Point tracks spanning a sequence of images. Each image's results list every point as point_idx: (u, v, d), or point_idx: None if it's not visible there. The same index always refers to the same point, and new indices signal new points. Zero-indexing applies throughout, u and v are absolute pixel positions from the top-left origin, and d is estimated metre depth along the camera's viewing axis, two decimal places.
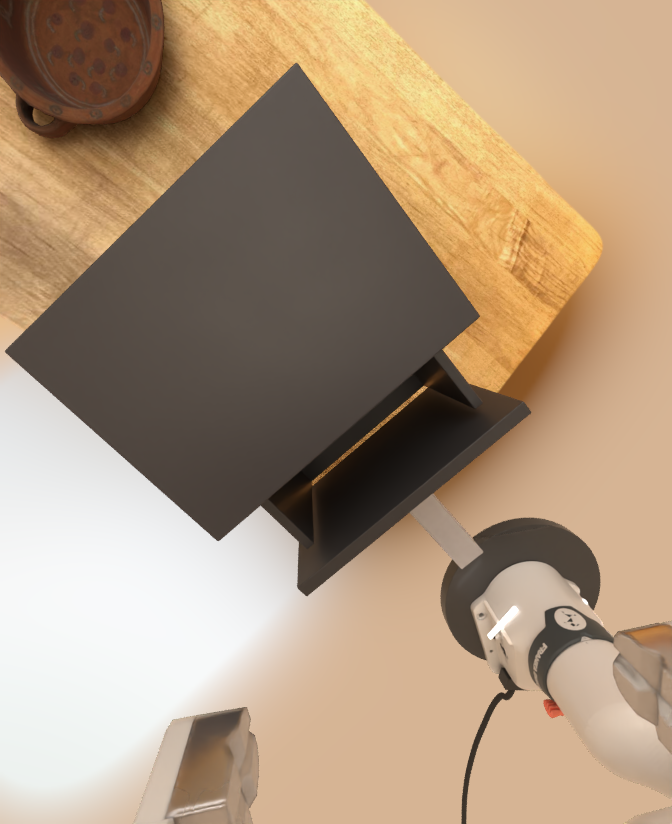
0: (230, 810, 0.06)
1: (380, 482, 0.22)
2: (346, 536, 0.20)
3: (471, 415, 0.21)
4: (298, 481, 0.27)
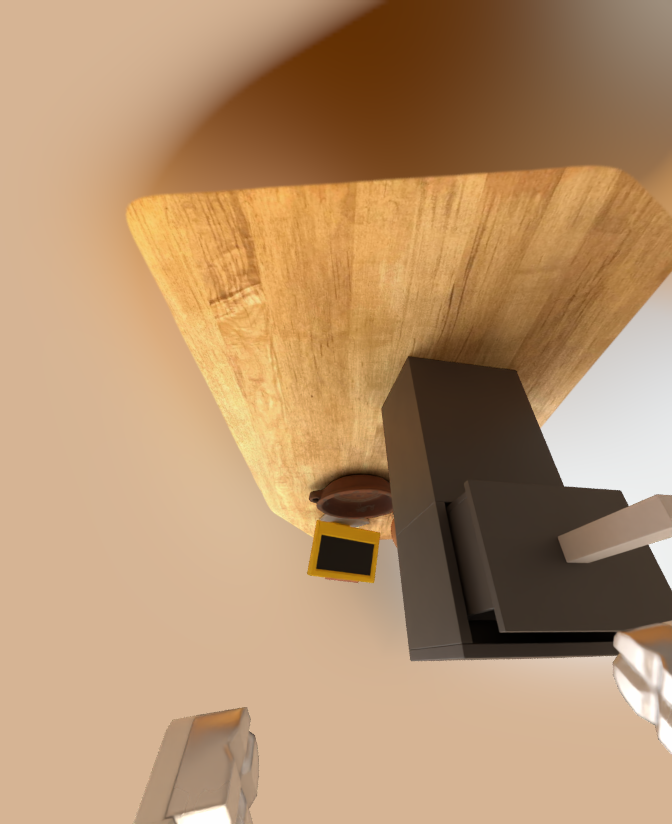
0: (230, 810, 0.06)
1: None
2: None
3: None
4: None
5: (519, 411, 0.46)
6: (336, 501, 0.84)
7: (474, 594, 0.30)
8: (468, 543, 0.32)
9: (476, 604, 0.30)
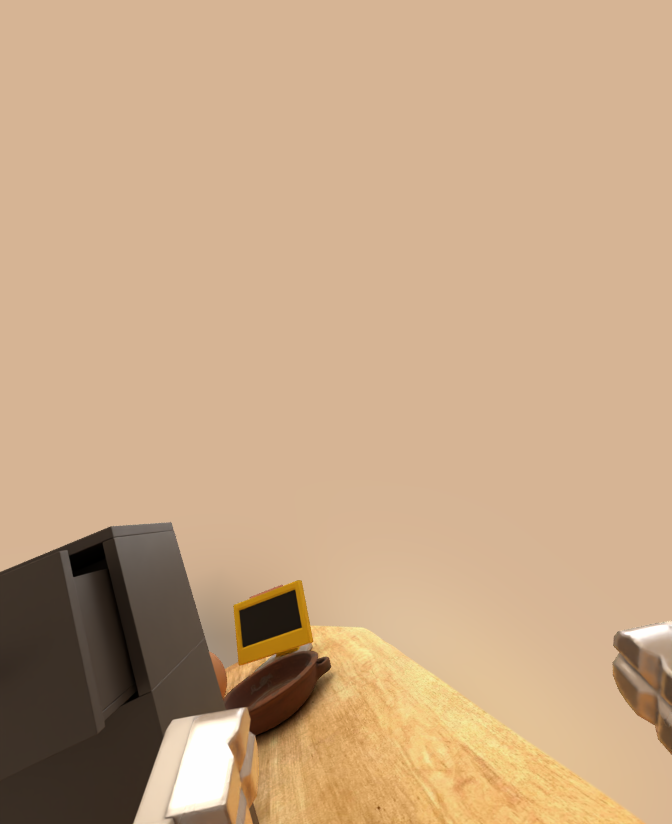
0: (230, 810, 0.06)
1: None
2: None
3: None
4: None
5: None
6: (297, 673, 0.68)
7: (98, 588, 0.28)
8: (103, 645, 0.26)
9: (96, 578, 0.28)
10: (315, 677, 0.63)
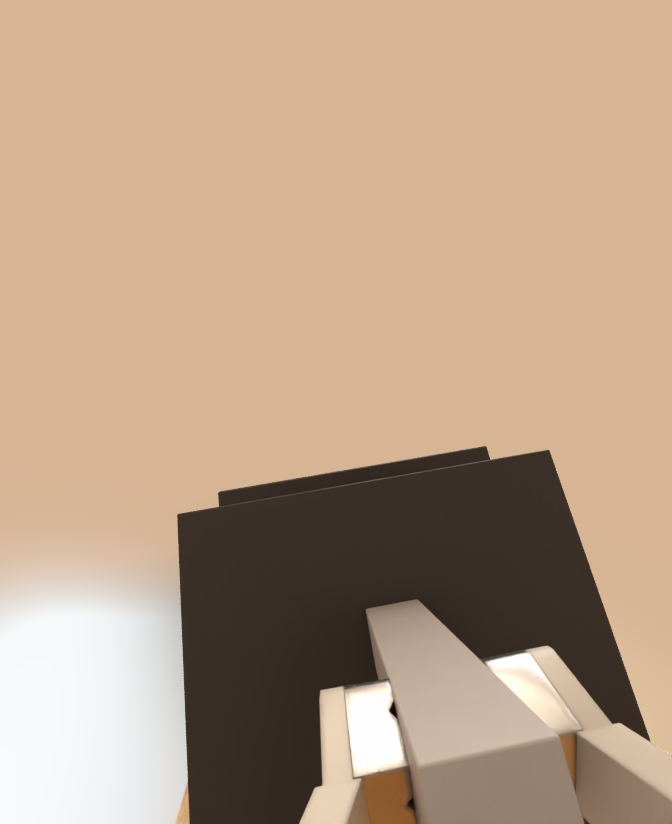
0: None
1: None
2: None
3: None
4: None
5: None
6: None
7: None
8: None
9: None
10: None
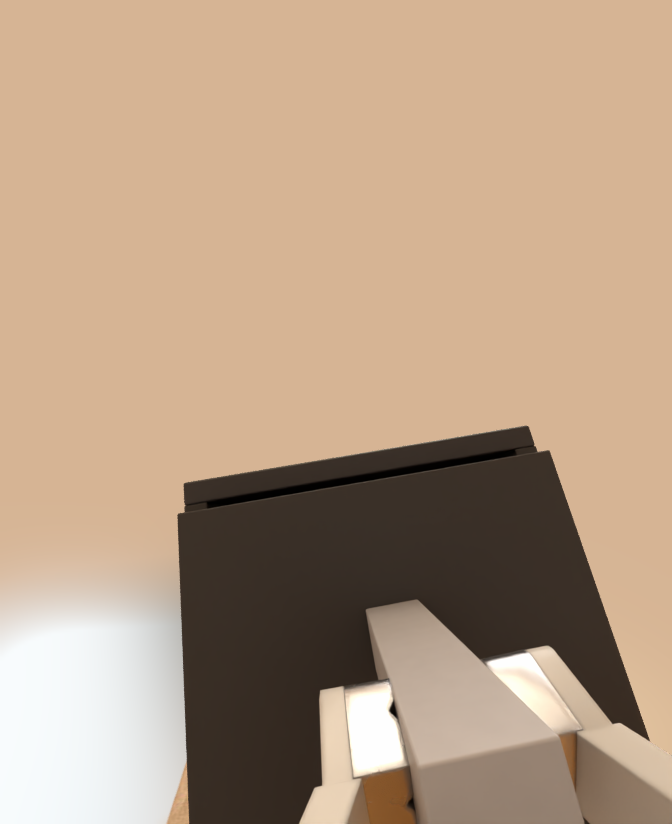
0: (410, 772, 0.06)
1: None
2: None
3: None
4: None
5: None
6: None
7: None
8: None
9: None
10: None
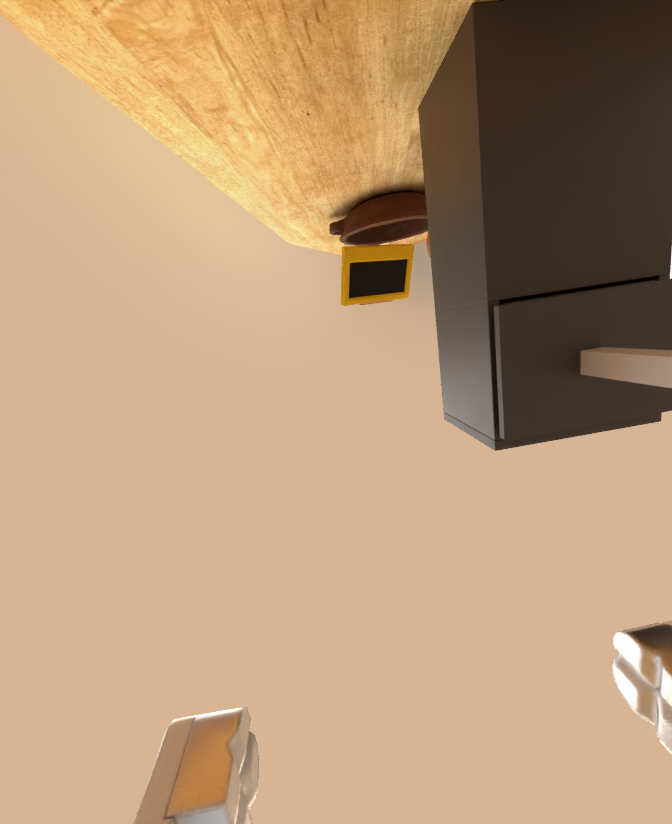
0: (230, 810, 0.06)
1: None
2: None
3: None
4: None
5: (654, 102, 0.27)
6: None
7: None
8: None
9: None
10: (346, 221, 0.65)
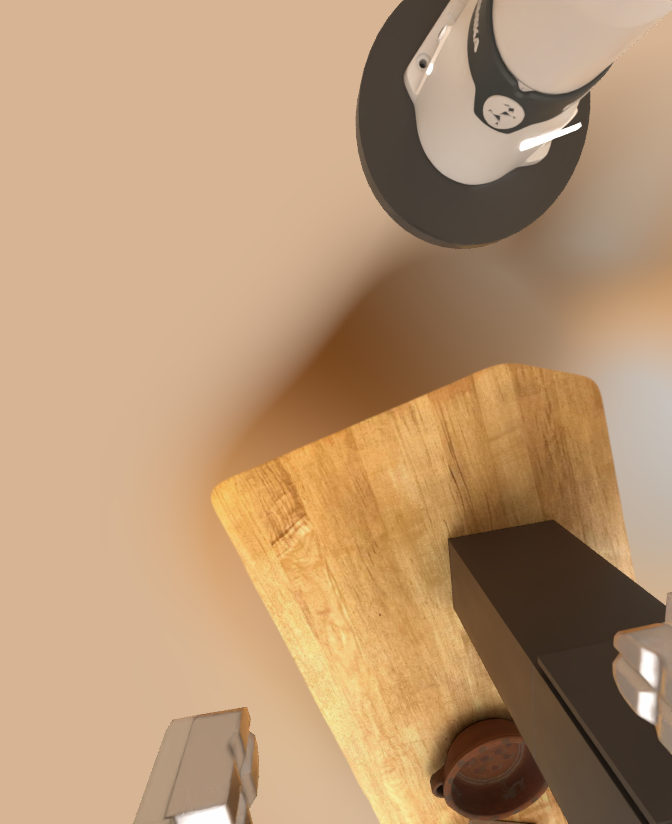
0: (230, 810, 0.06)
1: None
2: None
3: None
4: None
5: (576, 552, 0.46)
6: (470, 788, 0.61)
7: None
8: None
9: None
10: (445, 767, 0.59)
